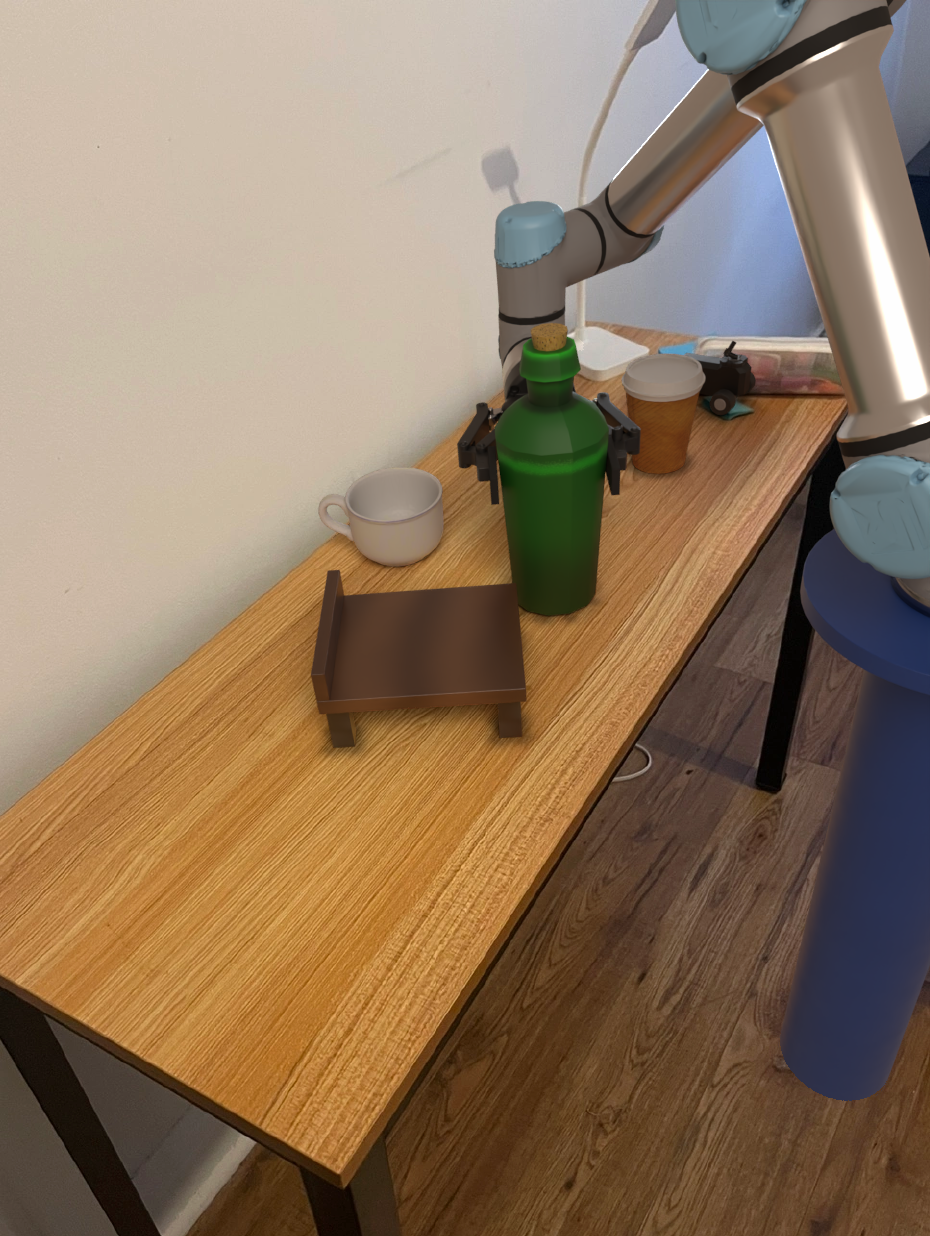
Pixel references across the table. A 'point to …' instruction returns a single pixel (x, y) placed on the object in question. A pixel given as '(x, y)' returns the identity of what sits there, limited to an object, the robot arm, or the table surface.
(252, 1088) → the table surface
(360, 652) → the shelf
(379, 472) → the teacup
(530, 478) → the bottle
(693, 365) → the disposable coffee cup
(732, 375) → the toy vehicle
